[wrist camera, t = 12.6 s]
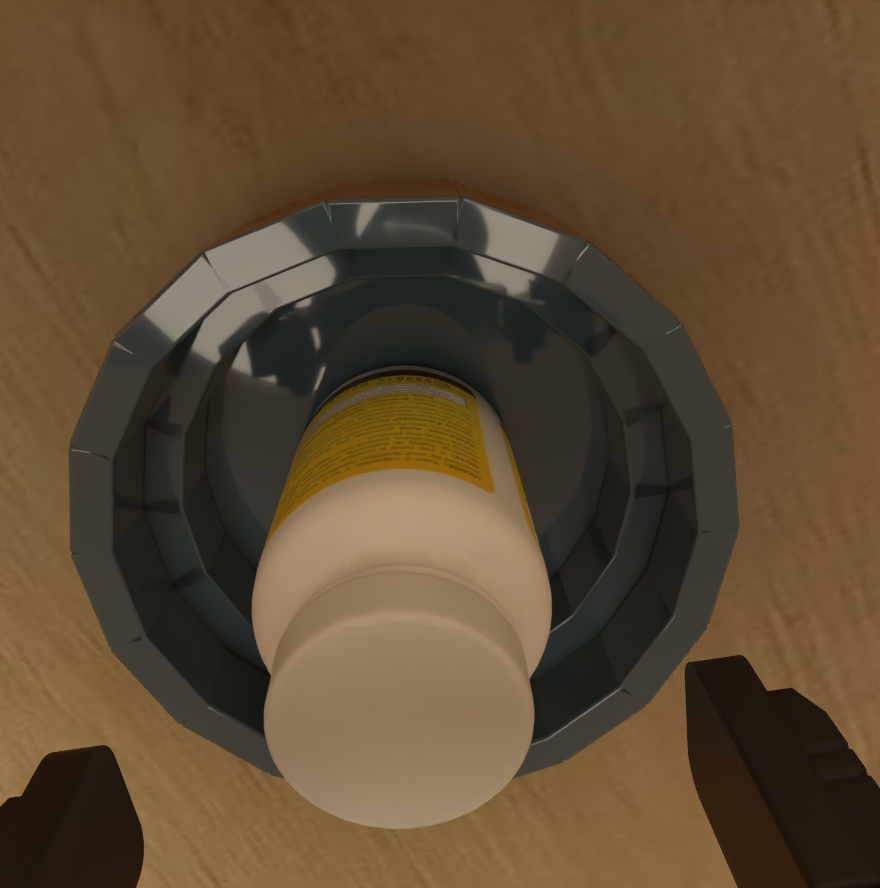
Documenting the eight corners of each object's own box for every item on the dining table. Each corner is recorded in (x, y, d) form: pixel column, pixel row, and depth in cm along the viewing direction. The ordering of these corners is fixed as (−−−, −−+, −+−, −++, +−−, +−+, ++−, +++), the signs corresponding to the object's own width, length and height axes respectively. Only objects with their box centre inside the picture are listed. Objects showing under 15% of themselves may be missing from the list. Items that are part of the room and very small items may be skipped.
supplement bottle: (253, 451, 21) (131, 711, 12) (418, 315, 20) (425, 487, 10) (393, 591, 22) (381, 917, 13) (552, 474, 21) (660, 741, 12)
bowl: (96, 186, 19) (-6, 208, 14) (694, 171, 19) (783, 187, 15) (179, 676, 24) (124, 809, 19) (651, 658, 24) (707, 784, 20)
